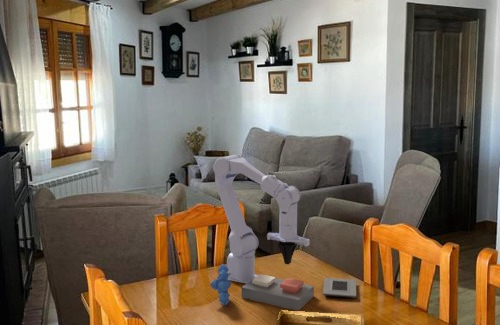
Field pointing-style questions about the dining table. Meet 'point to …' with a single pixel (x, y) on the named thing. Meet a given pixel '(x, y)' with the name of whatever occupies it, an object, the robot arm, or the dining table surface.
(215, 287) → the grapes
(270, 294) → the panel
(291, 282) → the red plunger
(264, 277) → the white plunger
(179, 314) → the dining table surface
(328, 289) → the electrical outlet
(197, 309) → the dining table surface
